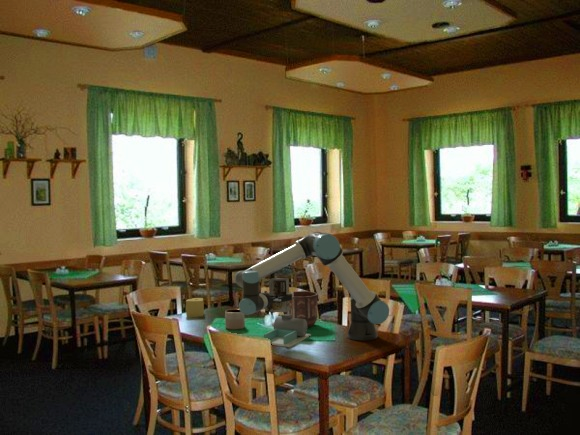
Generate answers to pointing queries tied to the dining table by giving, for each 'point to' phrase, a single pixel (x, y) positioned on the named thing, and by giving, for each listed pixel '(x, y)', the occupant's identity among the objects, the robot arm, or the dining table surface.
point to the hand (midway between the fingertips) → (283, 293)
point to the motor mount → (287, 331)
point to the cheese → (194, 307)
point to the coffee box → (279, 293)
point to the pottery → (304, 306)
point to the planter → (234, 319)
